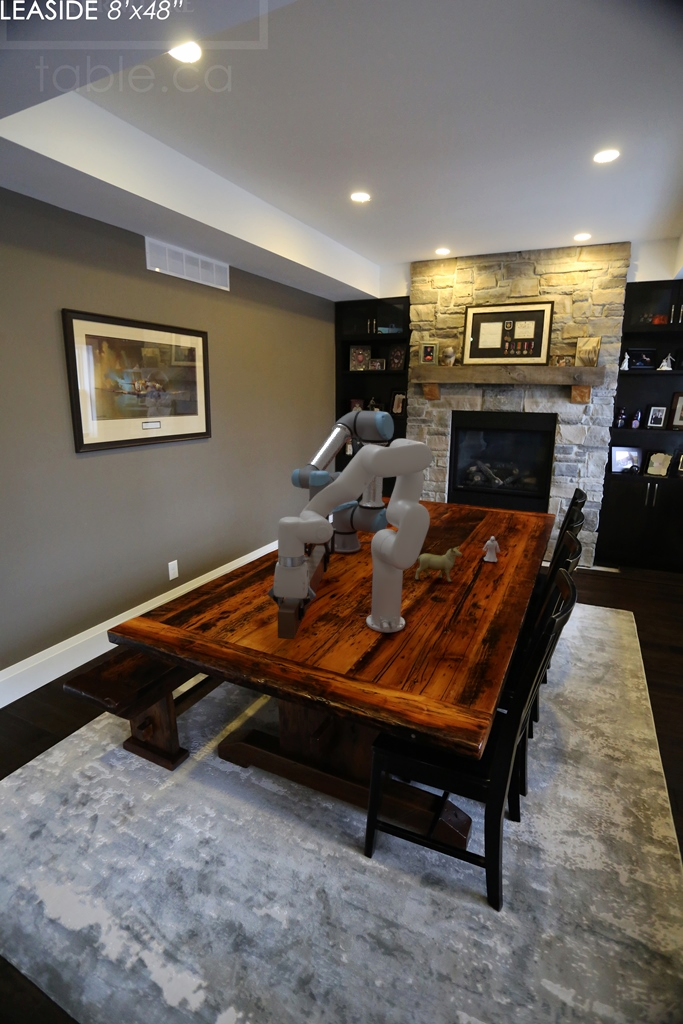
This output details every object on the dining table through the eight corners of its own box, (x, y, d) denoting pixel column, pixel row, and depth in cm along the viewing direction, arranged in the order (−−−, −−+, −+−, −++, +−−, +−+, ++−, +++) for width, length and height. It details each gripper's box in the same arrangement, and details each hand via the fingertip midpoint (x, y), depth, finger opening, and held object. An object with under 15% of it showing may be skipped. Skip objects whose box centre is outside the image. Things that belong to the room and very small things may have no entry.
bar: (293, 639, 142) (293, 612, 140) (277, 638, 142) (277, 611, 140) (327, 565, 201) (327, 546, 199) (316, 565, 201) (316, 545, 199)
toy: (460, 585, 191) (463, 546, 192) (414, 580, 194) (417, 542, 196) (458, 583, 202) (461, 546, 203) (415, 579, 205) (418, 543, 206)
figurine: (481, 562, 222) (483, 536, 219) (482, 556, 230) (484, 531, 227) (499, 564, 220) (501, 538, 217) (499, 558, 228) (501, 533, 225)
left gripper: (343, 511, 191) (342, 568, 196) (298, 508, 193) (298, 565, 198) (341, 515, 183) (340, 575, 189) (293, 513, 186) (293, 572, 191)
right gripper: (322, 557, 147) (322, 614, 151) (266, 553, 149) (267, 610, 153) (317, 566, 140) (317, 625, 144) (259, 562, 142) (260, 621, 146)
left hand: (318, 570), depth 194 cm, fingers closed on bar, 5 cm apart
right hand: (291, 616), depth 149 cm, fingers closed on bar, 4 cm apart
